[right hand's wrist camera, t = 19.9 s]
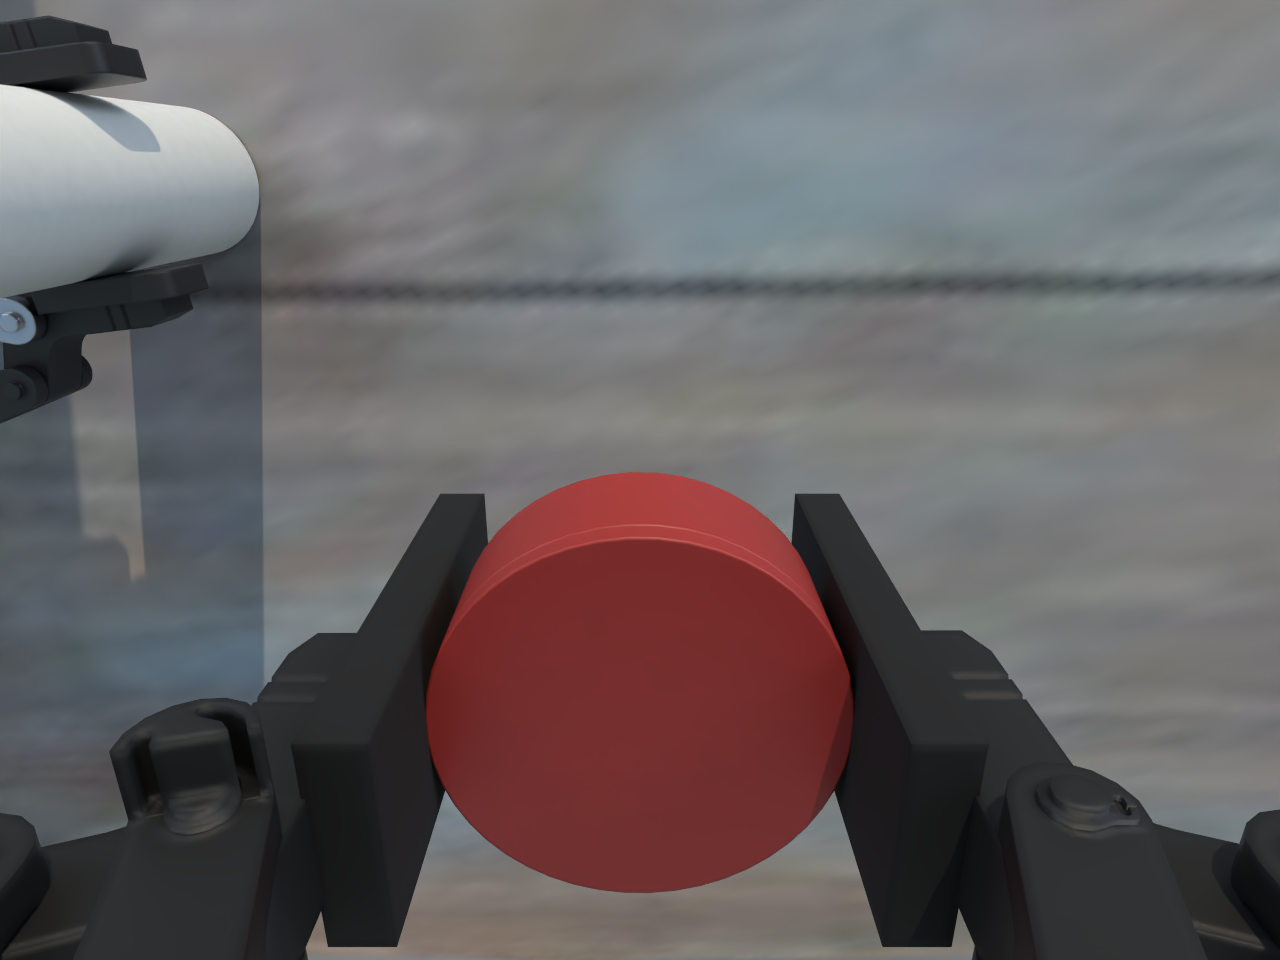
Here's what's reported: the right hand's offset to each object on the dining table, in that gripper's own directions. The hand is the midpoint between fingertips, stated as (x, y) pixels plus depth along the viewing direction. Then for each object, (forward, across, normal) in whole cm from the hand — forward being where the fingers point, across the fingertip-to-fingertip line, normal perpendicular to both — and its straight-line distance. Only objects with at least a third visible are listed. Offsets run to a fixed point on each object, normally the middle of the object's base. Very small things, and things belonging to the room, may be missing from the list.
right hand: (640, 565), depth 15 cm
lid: (-4, 0, 0) cm, 4 cm away
